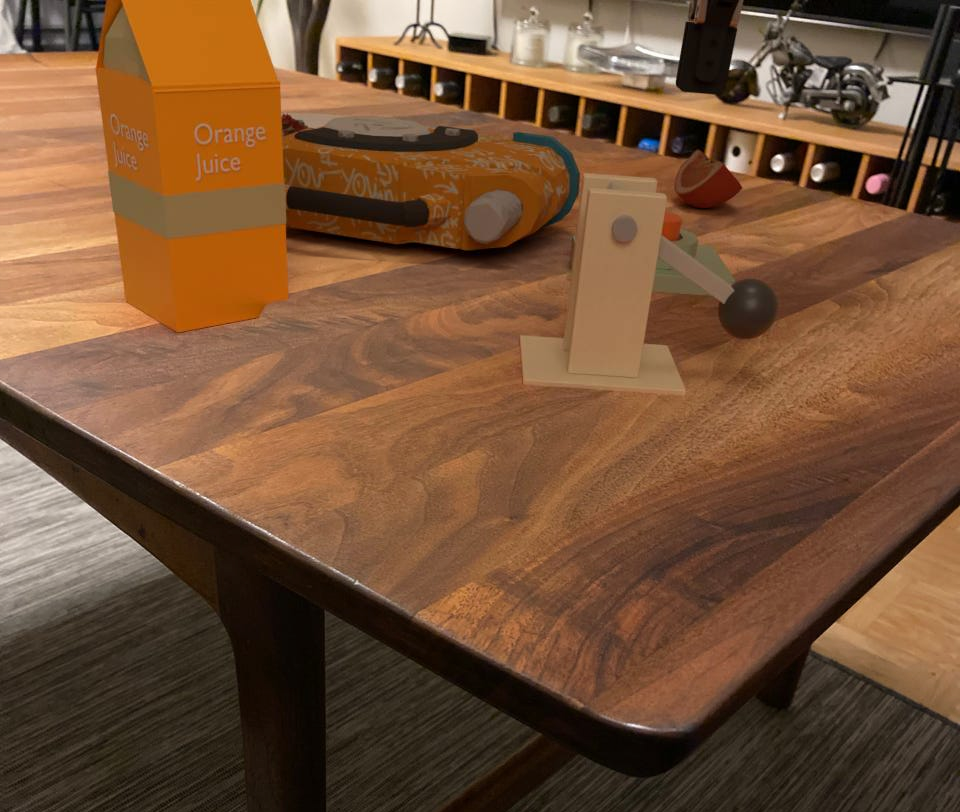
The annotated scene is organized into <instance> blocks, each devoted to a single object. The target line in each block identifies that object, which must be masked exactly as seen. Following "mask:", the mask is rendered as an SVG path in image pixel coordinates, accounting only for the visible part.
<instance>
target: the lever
mask: <svg viewBox="0 0 960 812" xmlns="http://www.w3.org/2000/svg"><path fill="white" fill-rule="evenodd" d="M606 189H612V190H622V189H621V188H620V187H618V186H617V185H616V184H614V183H613V182H610V183H609V185H608V186H607V188H606ZM658 258H660V259H661V260H663V261H664V262H665V263H667V264H668V265H670V266H671V267H672V268H674V269H675V270H677V271H678V272H679V273H681V274H682V275H684V276H685V277H686V278H688V279H689V280H691V281H692V282H693V283H695V284H696V285H698V286H699V287H700V288H702V289H703V290H705V291H706V292H707V293H709V294H710V295H712V296H711V297H713V298H714V299H715V300H717V301H719V303H718V307H717V315H718V321H719V323H720V325H721V327H722V328H723V330H724V331H725V332H726V333H727V334H728V335H730V336H731V337H733V338H736V339H739V340H753V339H756V338H759V337H760V336H763V335H764V334H766V332H768V331H770V329H771V328H772V326H773V325H774V323H775V321H776V318H777V315H778V311H779V302H778V297H777V295H776V293H775V291H774V289H773V288H772V287H771V286H770V285H769V284H767V283H766V282H764V281H763V280H762V279H761V280H760V279H758V278H744V279H743V278H742V279H740V280H738V281H735V283H734V284H732V285H730V284H729V283H727V282H726V281H725V280H723V279H722V278H720V277H719V276H718V275H716V274H715V273H713V272H712V271H711V270H709V269H708V268H707V267H705V266H704V265H702V264H701V263H700V262H698V261H697V260H696V259H694V258H693V257H691V256H690V255H689V254H687V253H686V252H684V251H683V250H682V249H680V248H679V247H678V246H676V245H675V244H673V243H672V242H671V241H669V240H668V239H666V238H665V237H664V236H662V235H661V240H660V246H659V252H658Z"/></svg>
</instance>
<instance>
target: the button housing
mask: <svg viewBox="0 0 960 812" xmlns="http://www.w3.org/2000/svg"><path fill="white" fill-rule="evenodd" d="M575 238H576V235H572V238H571V247H570V254H569V255H570V256H569V264H570V270H572V263H573V255H574V246H575ZM671 242H672V243H673V244H675V245H676V246H678V247H679V248H680V249H682V250H683V251H684V252H686V253H687V254H689V255H690V256H691V257H693V258H694V259H696V260H697V261H698V262H700V263H701V264H702V265H704V266H705V267H707V268H708V269H709V270H711V271H712V272H713V273H715V274H716V275H718V276H719V277H720V278H722V279H723V280H725V281H726V282H727V283H729V284H730V285H732V284H734V283H736V278H735V277H734V276H733V274H732V272H731V271H730V270H729V268H728V267H727V265H726V264H725V262H724V261H723V260H722V258H721V256H720V255H719V253H718V251H717V250H716V249H715V247H714V246H713V245H710V244H709V245H708V244H699V238H698V237H697V235H696V234H695V233H694V232H691V231H689V230H686V229H683V228H680V234H679V240H678V241H671ZM652 293H666V294H681V295H682V294H683V295H693V296H695V295H696V296H707V297H709V296H711V297H713V296H712V295H710V294H709V293H707V292H706V291H705V290H703V289H702V288H700V287H699V286H698V285H696V284H695V283H693V282H692V281H691V280H689V279H688V278H686V277H685V276H684V275H682V274H681V273H679V272H678V271H677V270H675V269H674V268H672V267H671V266H670V265H668V264H667V263H665V262H664V261H663V260H661V259H660V258H657V264H656V270H655V276H654V283H653V289H652Z"/></svg>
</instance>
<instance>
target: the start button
mask: <svg viewBox="0 0 960 812" xmlns="http://www.w3.org/2000/svg"><path fill="white" fill-rule="evenodd" d="M682 221H683V218H682V217H681V216H680V215H679V214H676V213H673V212H669V211H666V210H665V215H664V221H663V227H662V233H661V235H662V236H664V237H665V238H666V239H668V240H669V241H678V240H679V234H680V228H681V227H682ZM681 229H682V228H681Z"/></svg>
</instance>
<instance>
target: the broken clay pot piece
mask: <svg viewBox="0 0 960 812" xmlns="http://www.w3.org/2000/svg"><path fill="white" fill-rule="evenodd" d="M676 173H677V174H676V176H675V179H674V184H673V185H674V187H673V188H674V191H675V193H676V195H677V196H678V197H679V198H680V199H681V200H682V201H683V202H684V203H686V204H688V205H689V206H690V207H694V208H699V209H708V208H713V207H716V206H719V205H723V204H725V203H727V202H728V201H730V200H731V199H733V198H734V197H735V196H737V194H739V193H740V192H741V191H742V190H743V187H742V184H741V183H740V181H739V180H738V179H737V178H736V177H735V175H734V174H733V173H732V172H731V171H730V169H729V168H728V167H727V166H726V164H724V163H723V162H722V161H720V160H718V159H717V157H715V156H714V157H713V158H711V157H710V158H709V157H708V156H707V154H705V152H703V151H702V150H700V149H696V150H695V151H694V152H693V153H692V154H691V155H690V156H689V157H687V159H686V160H685V161H684V162H683V163H682V164H681V165H680V166H679V169H678V171H677V172H676Z"/></svg>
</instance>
